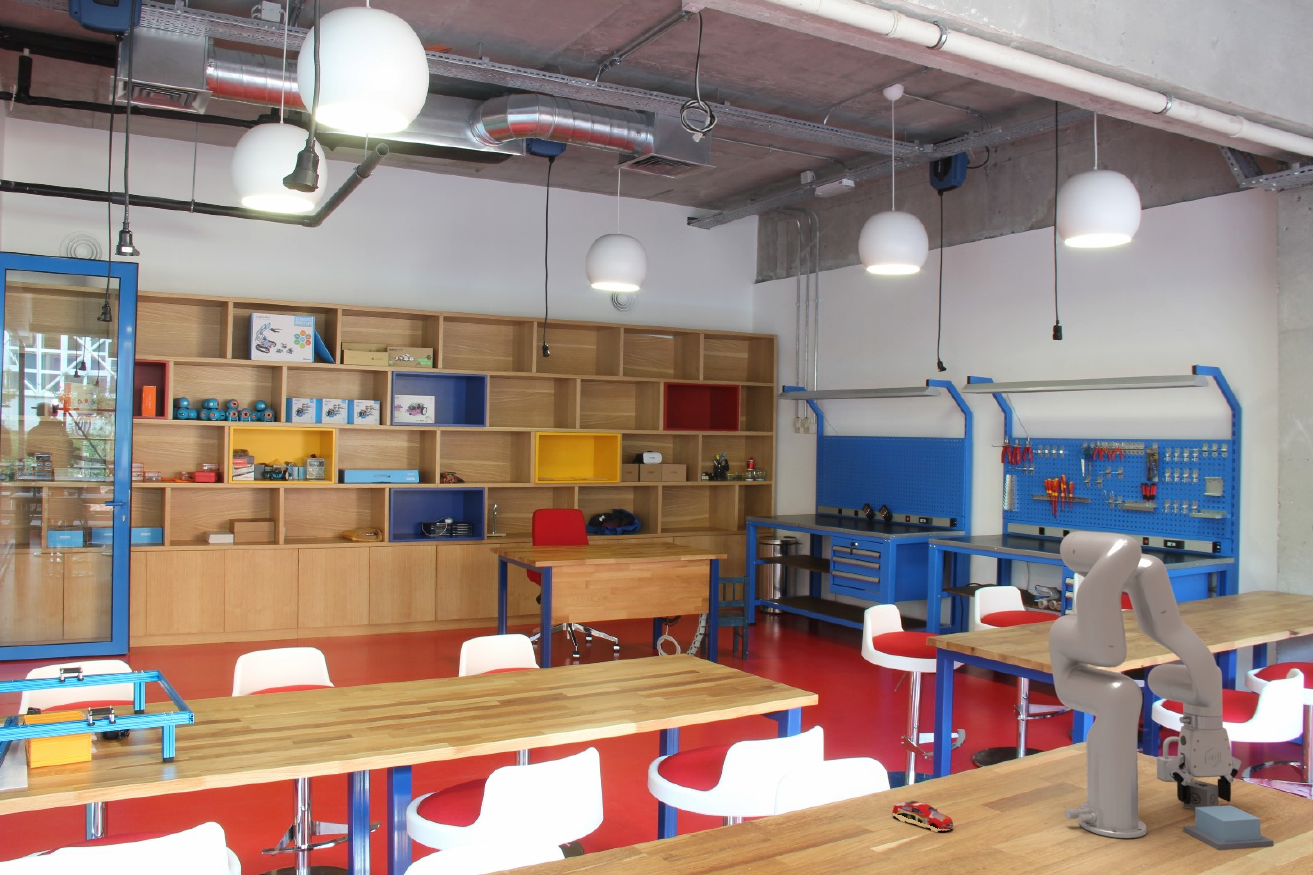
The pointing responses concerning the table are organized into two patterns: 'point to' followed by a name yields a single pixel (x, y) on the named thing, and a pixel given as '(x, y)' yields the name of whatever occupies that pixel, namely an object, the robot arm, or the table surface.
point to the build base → (1227, 828)
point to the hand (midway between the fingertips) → (1204, 800)
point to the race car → (923, 814)
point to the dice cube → (1202, 794)
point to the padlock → (1161, 761)
